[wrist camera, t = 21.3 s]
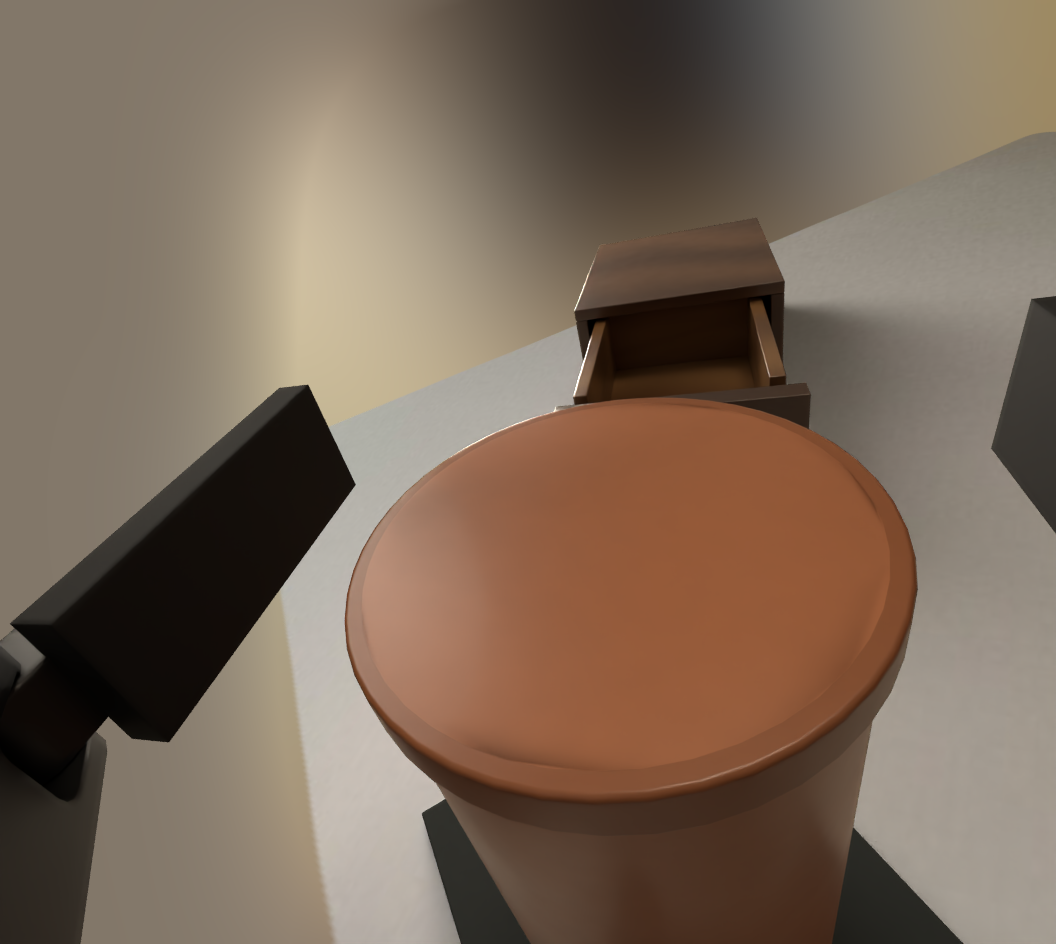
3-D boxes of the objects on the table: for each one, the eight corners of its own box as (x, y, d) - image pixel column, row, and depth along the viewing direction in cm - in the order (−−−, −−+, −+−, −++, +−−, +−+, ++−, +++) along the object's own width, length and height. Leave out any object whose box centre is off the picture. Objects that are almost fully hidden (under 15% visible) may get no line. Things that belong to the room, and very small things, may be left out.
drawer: (821, 549, 27) (829, 443, 24) (559, 554, 30) (536, 463, 27) (769, 362, 42) (769, 283, 39) (600, 380, 46) (588, 310, 43)
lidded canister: (490, 965, 17) (239, 621, 9) (624, 739, 22) (542, 378, 13) (772, 1233, 12) (797, 1025, 4) (866, 868, 17) (966, 429, 9)
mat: (426, 820, 21) (421, 812, 21) (690, 662, 24) (689, 653, 24) (648, 1545, 10) (645, 1553, 10) (1088, 1089, 13) (1096, 1082, 13)
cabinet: (782, 387, 41) (784, 280, 37) (591, 405, 45) (573, 311, 41) (757, 303, 54) (757, 217, 50) (611, 323, 58) (599, 245, 54)
